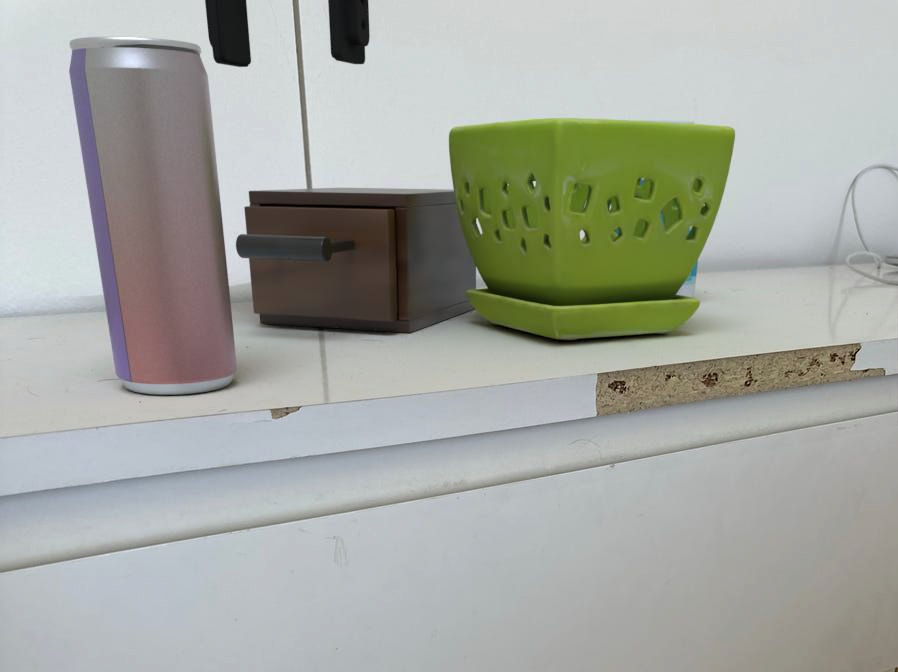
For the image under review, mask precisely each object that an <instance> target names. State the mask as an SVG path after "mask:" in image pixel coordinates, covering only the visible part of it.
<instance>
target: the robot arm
mask: <svg viewBox="0 0 898 672" xmlns="http://www.w3.org/2000/svg"><path fill="white" fill-rule="evenodd" d="M327 2H328V3H327V4H328V24H329V41H330V44H329V45H330V55H331V57H332V58H333V59H334V60H335V61H338V62H341V63H346V64H352V65H364V64H365V62H366V47H368V46H369V44H370V38H371V37H370V36H371V35H370V9H369V7H370V5H369V0H327ZM204 5H205V15H206V24H207V25H206V26H207V33H208V34H207V35H208V42H209V44H210V46H211V48H212V57H213V60H214V61H215V63H216V64H219V65H225V66H231V67H236V68H248V67H249V65H251V63H252V55H251V42H250V41H251V40H250V31H249V18H248V6H247V0H204Z"/></svg>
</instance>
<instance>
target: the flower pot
mask: <svg viewBox="0 0 898 672" xmlns="http://www.w3.org/2000/svg"><path fill="white" fill-rule="evenodd" d="M735 140H736V130H735V128H733V127H731V126H728V125H714V124H713V125H712V124H701V123H694V124H690V123H668V122H652V121H637V120H629V119H628V120H626V119H607V118H579V117H578V118H577V117H552V118H548V117H547V118H533V119H532V118H531V119H521V120H510V121H497V122H488V123H480V124H479V123H477V124H469V125H460V126H453V127H452V128H451V129H450V130H449V133H448V153H449V163H450V164H449V165H450V173H451V181H452V186H453V187H452V188H453V190H454V195H455V201H456V205H457V210H458V215H459V218H460V222H461V226H462V230H463V233H464V236H465V239H466V242H467V245H468V248H469V251H470V253H471V256H472V258H473V261H474V263H475V265H476V270H477V271H478V273H479V276H480V277H481V279H482V281H483V282H484V284H485V286H486V288H476V289H472V290H467V291H466V296H467V298H468V300H469V302H470V303H471V304H472V306H473V307H474V308H475V309H474V310H476V312H478V314H479V315H480V316H481V317H482V318H483V319H485V320H486V321H488V322H489V324H491V325H499V326H503V327H506V328H510V329H514V330H518V331H521V332H525V333H529V334H533V335H536V336H537V335H538V336H542V337H545V338H549V339H555V340H562V341H576V340H580V339H593V338H594V339H595V338H608V337H609V338H610V337H623V336H635V335H649V334H650V335H651V334H656V335H657V334H658V335H667V334H668V333H669V332H672V331H675V330H676V329H678V328H680V327H681V326H683V325H684V324H685V323H686V322H688V320H689V319H690V318H692V316H693V315H694V314H695V313H696V312H697V311H698V309H699V307H700V305H701V301H700V299H699V298H697V297H694V296H693V297H687V296H682V295H676V294H677V292H678V291H679V289H680V288H681V286H682V285H683V284H684V282H685V281H686V279H687V278H688V276H689V274H690V273H691V271H692V269H693V267H694V266H695V264H696V262H697V260H698V261H699V259H700V256H701V254H702V252H703V250H704V248H705V245H706V243H707V241H708V239H709V237H710V235H711V233H712V232H711V231H712V229H713V227H714V224H715V221H716V218H717V216H718V212H719V210H720V207H721V203H722V200H723V197H724V194H725V189H726V185H727V181H728V178H729V173H730V168H731V163H732V162H731V161H732V157H733V153H734V147H735ZM642 178H644V183H643V185H642V186H641V179H642ZM534 182H535V184H534ZM636 197H637V198H636ZM639 198H640V199H639ZM611 203H612V207H611ZM703 205H704V206H703ZM677 207H678V208H677ZM661 212H662V215H663V220H664V225H663V222H662V218H661ZM477 221H478V222H477ZM478 223H479V226H478ZM691 226H693V227H692V229H691V231H690V233H689V234H688V235H687V232H688V230H689V228H690V227H691ZM479 227H480V229H481V231H480V229H479ZM618 228H619V235H618V234H617V233H616V231H617V229H618ZM581 231H583V233H584V236H583V238H581Z"/></svg>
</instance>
